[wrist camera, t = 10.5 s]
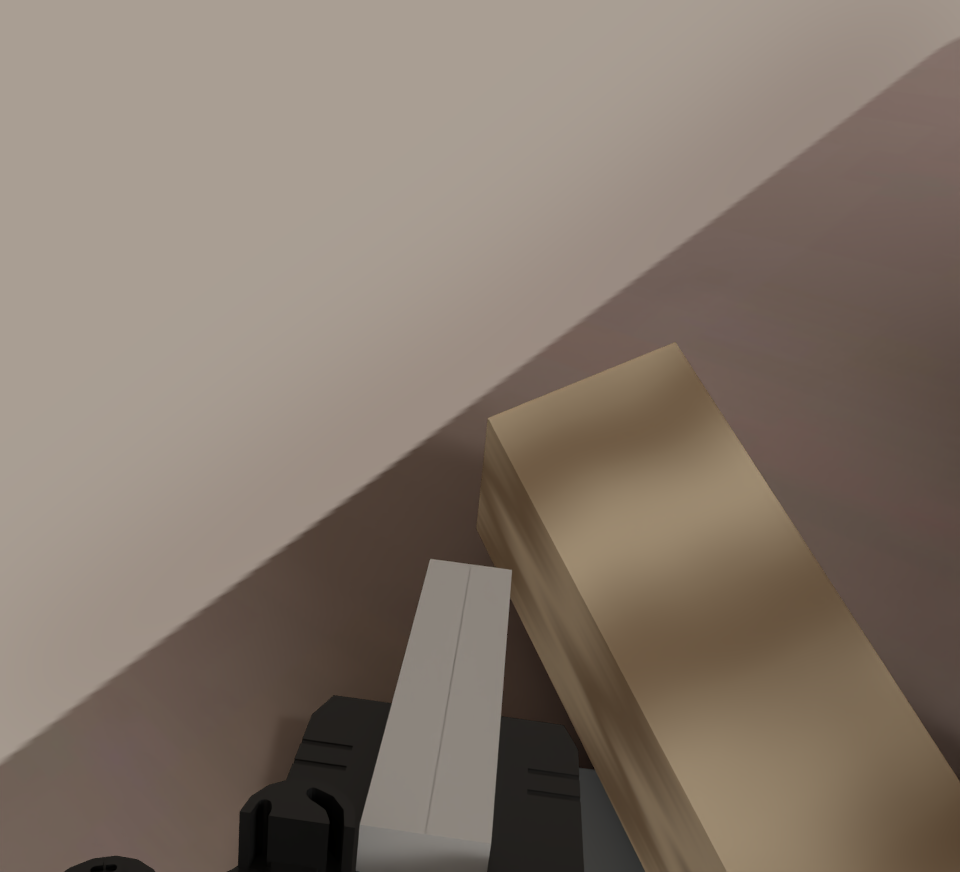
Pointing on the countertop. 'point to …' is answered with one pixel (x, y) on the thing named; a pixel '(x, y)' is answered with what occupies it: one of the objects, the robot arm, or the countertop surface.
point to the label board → (603, 830)
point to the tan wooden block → (703, 639)
